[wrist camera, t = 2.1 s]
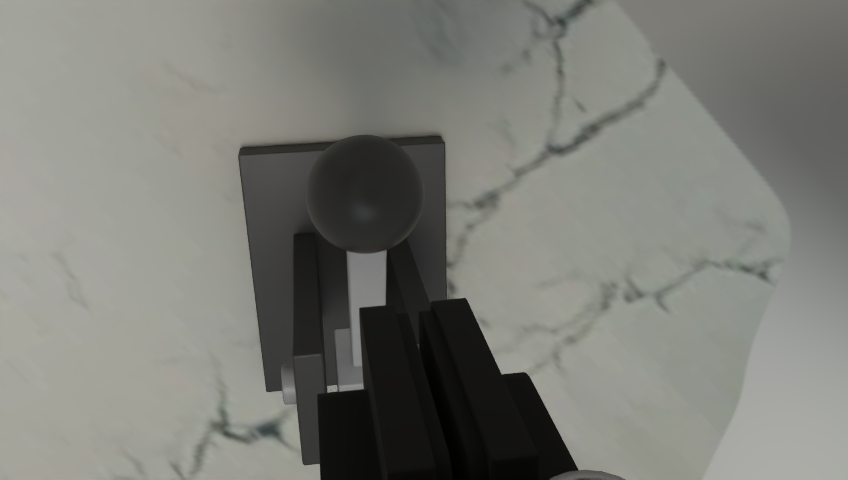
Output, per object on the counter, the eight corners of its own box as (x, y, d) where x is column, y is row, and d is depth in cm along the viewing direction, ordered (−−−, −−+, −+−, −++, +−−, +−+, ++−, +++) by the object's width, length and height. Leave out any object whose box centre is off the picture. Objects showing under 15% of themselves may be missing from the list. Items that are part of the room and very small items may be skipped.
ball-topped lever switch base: (239, 147, 33) (212, 252, 22) (440, 135, 34) (506, 229, 24) (267, 379, 38) (255, 558, 27) (443, 361, 39) (499, 526, 28)
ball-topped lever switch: (298, 114, 20) (303, 197, 18) (417, 107, 20) (436, 187, 18) (322, 364, 29) (327, 440, 27) (405, 356, 29) (416, 430, 27)
